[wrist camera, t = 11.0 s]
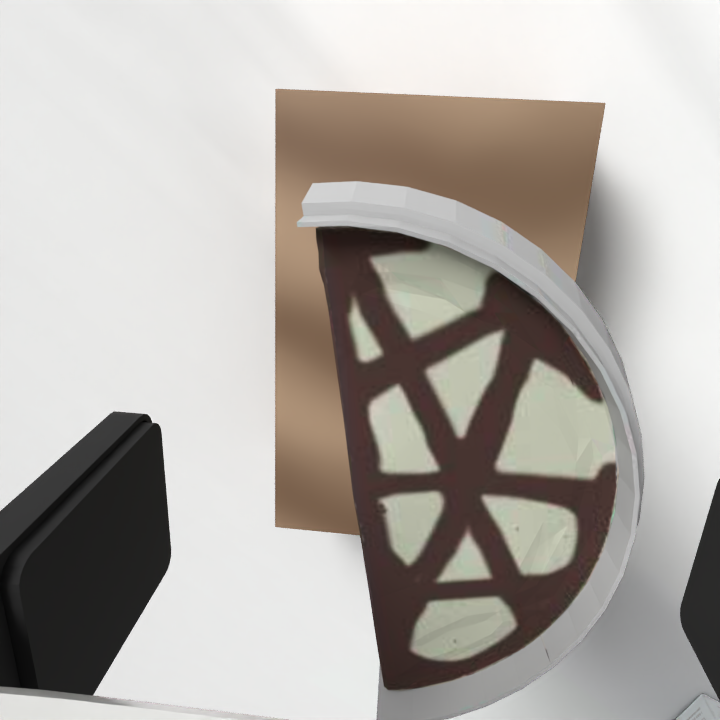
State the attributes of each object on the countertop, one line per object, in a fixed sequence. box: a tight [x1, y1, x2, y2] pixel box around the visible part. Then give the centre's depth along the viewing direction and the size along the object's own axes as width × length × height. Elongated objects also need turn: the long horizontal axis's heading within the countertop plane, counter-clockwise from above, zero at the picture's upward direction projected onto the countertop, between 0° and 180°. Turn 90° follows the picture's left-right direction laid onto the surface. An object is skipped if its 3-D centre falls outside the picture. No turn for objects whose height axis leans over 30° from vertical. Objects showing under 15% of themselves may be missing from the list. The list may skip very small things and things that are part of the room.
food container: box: [297, 181, 644, 720], centre depth 16 cm, size 12×6×10 cm, turn 7°
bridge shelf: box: [275, 89, 605, 535], centre depth 24 cm, size 16×10×6 cm, turn 177°
